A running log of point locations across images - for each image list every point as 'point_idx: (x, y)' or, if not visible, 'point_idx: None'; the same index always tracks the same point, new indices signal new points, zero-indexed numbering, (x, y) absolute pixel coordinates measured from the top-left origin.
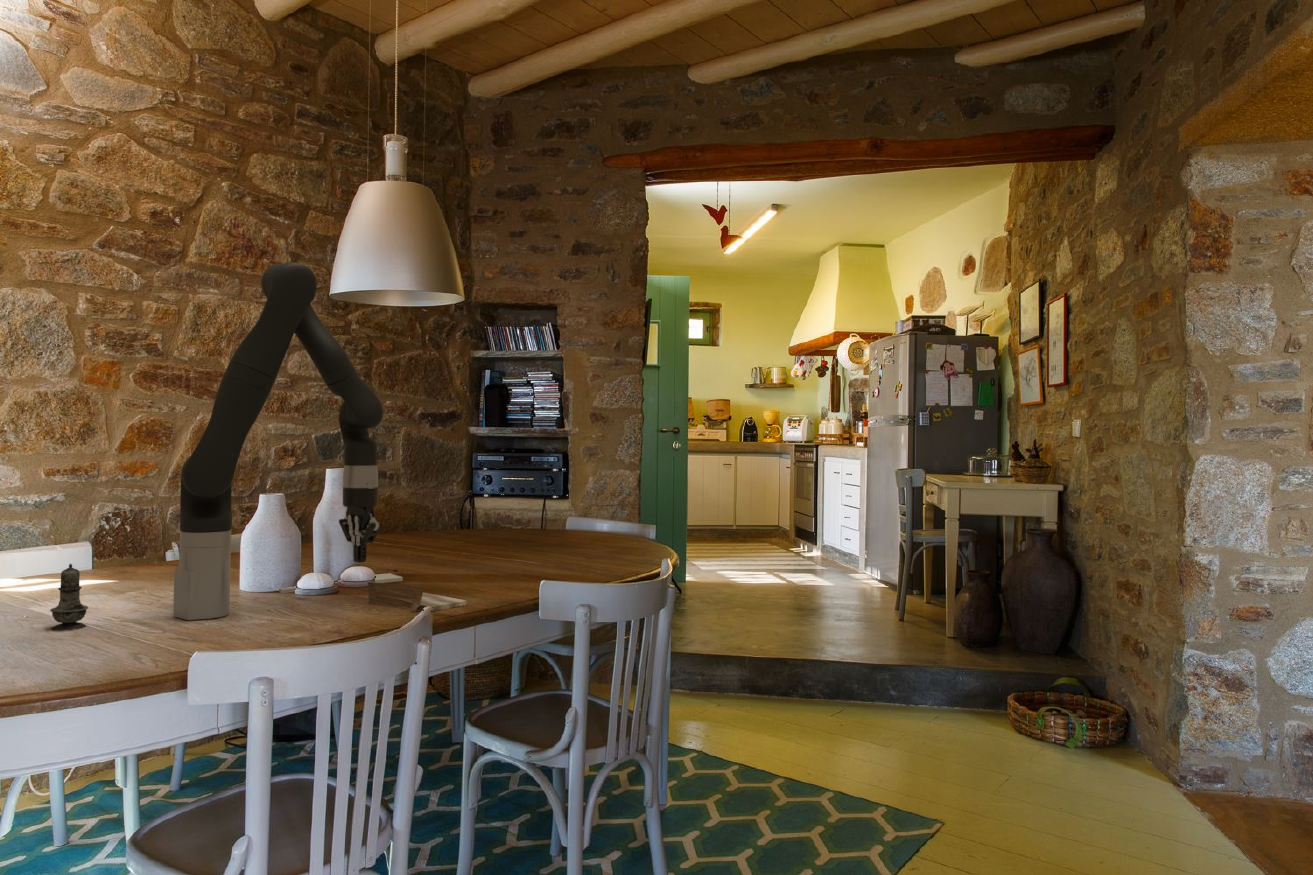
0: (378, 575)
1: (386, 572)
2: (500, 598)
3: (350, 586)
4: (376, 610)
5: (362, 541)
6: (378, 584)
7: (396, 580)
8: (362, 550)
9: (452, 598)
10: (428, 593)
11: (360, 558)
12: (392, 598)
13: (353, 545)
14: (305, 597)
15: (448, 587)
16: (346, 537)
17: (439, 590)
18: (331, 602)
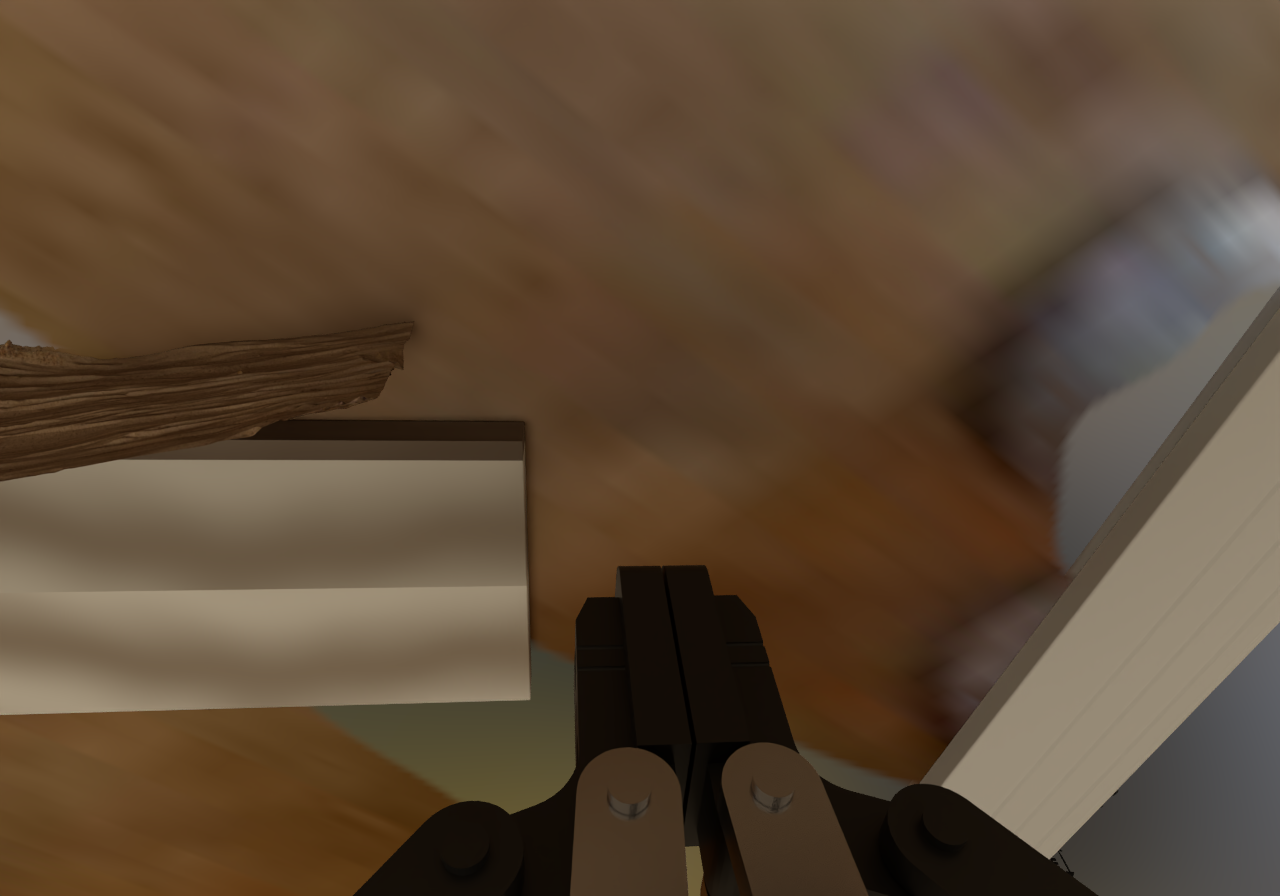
0: (1053, 818)
1: (1069, 873)
2: (14, 875)
3: (1039, 605)
4: (39, 159)
5: (453, 840)
6: (234, 427)
7: None
8: (576, 722)
9: (1, 704)
10: (294, 706)
11: (591, 613)
12: (100, 392)
13: (795, 756)
14: (1078, 134)
15: None
16: (1015, 856)
17: None
18: (694, 135)
